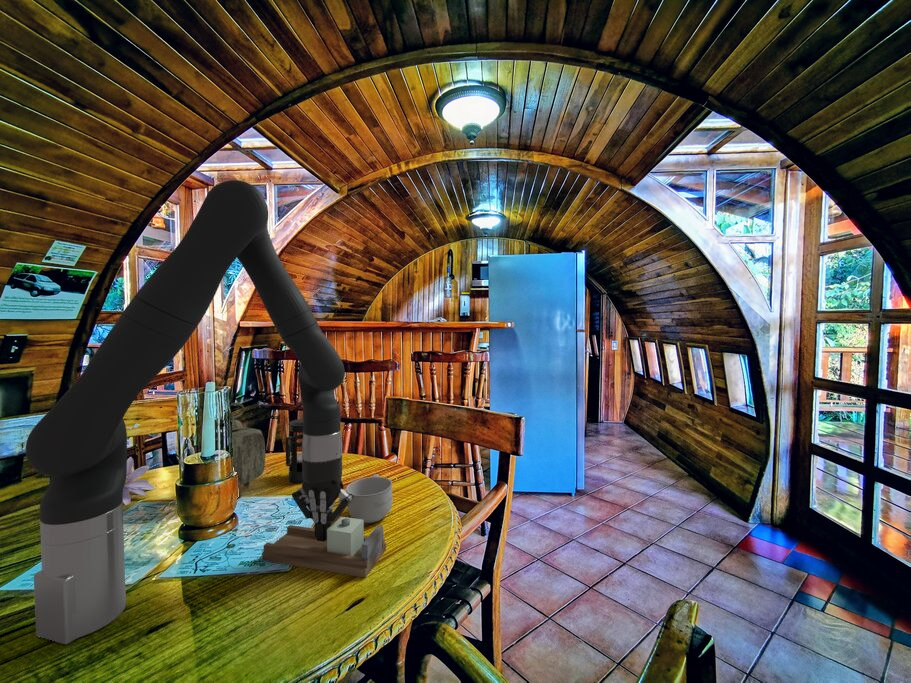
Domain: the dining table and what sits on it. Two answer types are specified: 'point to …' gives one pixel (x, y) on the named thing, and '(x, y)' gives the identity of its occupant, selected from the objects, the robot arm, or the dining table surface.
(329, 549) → the slider
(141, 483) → the water lily
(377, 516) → the teacup
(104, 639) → the dining table surface
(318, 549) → the track
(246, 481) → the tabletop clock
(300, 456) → the french press
